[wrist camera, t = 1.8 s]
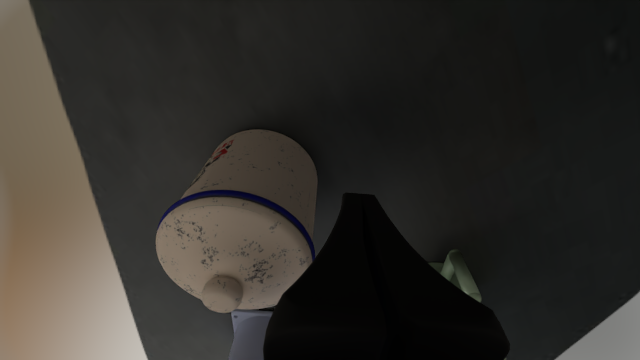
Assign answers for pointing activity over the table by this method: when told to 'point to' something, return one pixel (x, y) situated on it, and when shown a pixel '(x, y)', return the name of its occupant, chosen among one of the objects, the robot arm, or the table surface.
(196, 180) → the teacup with lid
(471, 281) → the mug
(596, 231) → the table surface
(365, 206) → the robot arm
